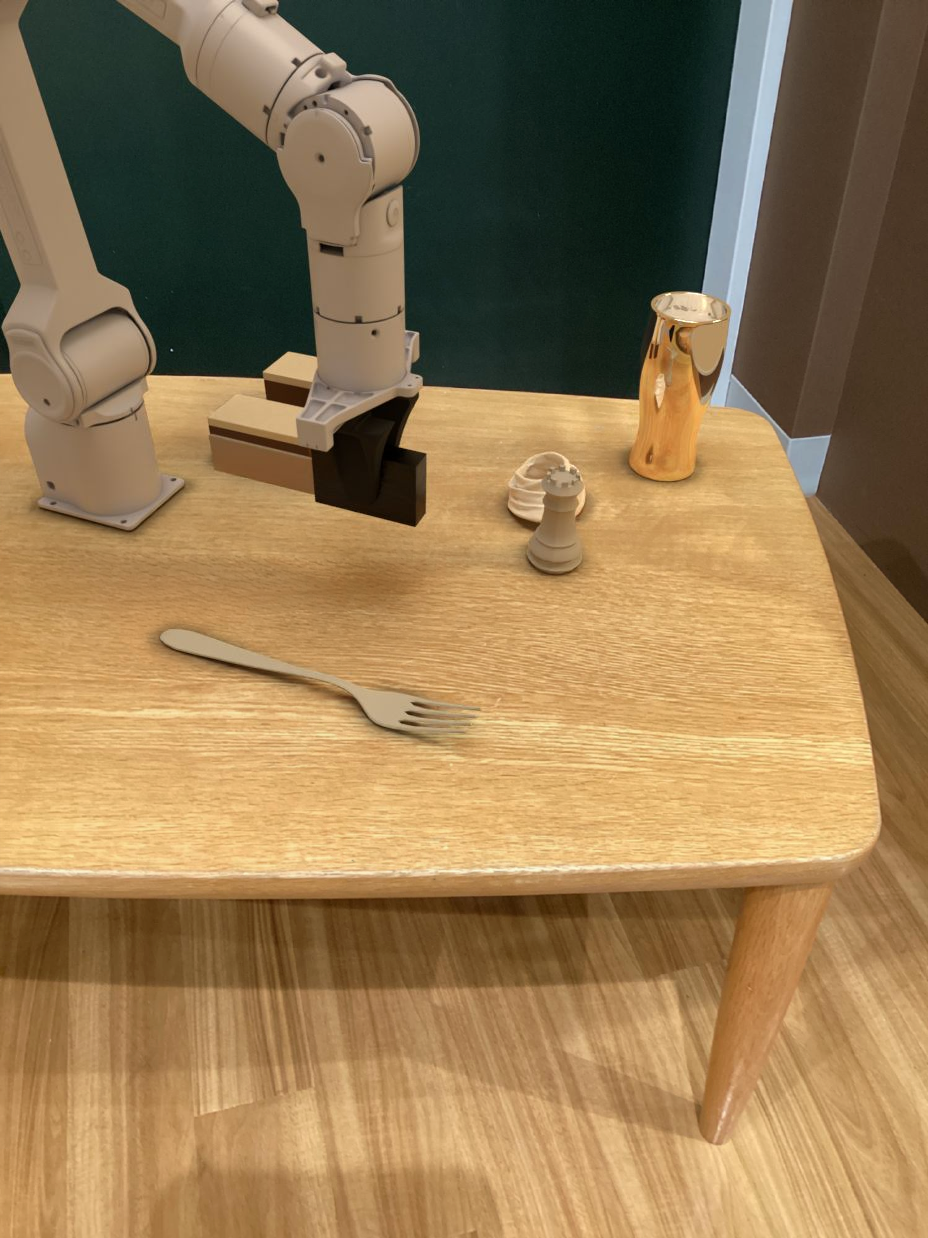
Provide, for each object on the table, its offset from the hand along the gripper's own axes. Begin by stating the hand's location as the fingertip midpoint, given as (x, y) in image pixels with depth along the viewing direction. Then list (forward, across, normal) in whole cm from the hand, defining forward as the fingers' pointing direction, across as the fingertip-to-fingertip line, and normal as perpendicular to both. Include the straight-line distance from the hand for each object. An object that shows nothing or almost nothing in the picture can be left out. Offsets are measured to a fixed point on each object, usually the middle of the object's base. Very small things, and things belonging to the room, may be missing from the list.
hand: (368, 491), depth 66 cm
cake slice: (+8, +22, +16) cm, 29 cm away
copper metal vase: (+8, +26, -17) cm, 32 cm away
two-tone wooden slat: (+1, 0, +4) cm, 5 cm away
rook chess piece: (+8, +8, -12) cm, 17 cm away
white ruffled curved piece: (+8, +15, -9) cm, 19 cm away
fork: (+8, -12, -1) cm, 15 cm away
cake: (+8, +13, +16) cm, 22 cm away
